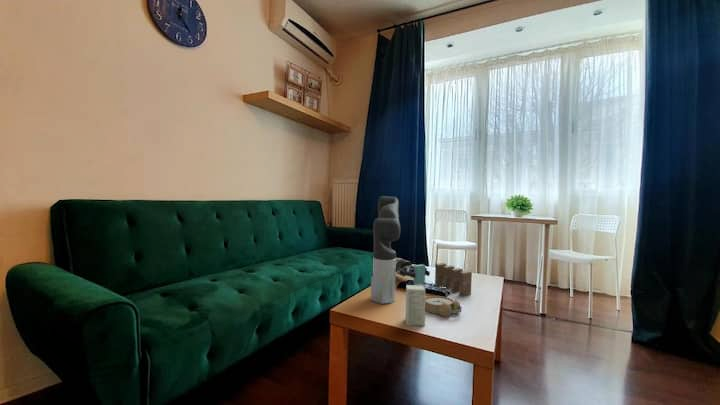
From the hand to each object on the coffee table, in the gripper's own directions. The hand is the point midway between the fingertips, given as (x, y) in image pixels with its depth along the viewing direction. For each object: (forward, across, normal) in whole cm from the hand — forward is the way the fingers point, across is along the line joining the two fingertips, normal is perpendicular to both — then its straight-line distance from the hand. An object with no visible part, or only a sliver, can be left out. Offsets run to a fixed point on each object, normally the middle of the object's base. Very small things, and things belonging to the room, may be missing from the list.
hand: (422, 274), depth 131 cm
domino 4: (+15, +12, +6) cm, 20 cm away
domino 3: (+10, +12, +6) cm, 17 cm away
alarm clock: (+24, -10, +6) cm, 26 cm away
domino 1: (0, +12, +6) cm, 13 cm away
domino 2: (+5, +12, +6) cm, 14 cm away
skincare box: (+27, -26, +6) cm, 38 cm away
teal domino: (-2, 0, +6) cm, 6 cm away
